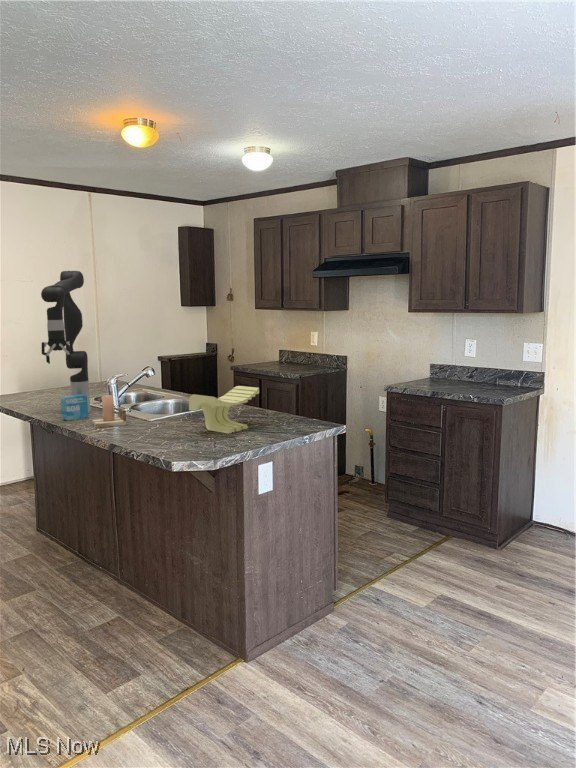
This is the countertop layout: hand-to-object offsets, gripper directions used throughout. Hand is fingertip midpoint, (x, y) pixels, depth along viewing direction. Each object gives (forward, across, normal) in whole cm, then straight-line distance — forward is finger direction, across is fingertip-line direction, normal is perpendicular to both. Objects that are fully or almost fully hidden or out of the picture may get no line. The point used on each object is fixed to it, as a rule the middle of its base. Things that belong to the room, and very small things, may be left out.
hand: (58, 363), depth 284 cm
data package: (+30, -7, -10) cm, 33 cm away
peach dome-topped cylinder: (+28, -20, +13) cm, 37 cm away
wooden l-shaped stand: (+30, -20, +13) cm, 38 cm away
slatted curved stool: (+30, -66, +51) cm, 89 cm away
